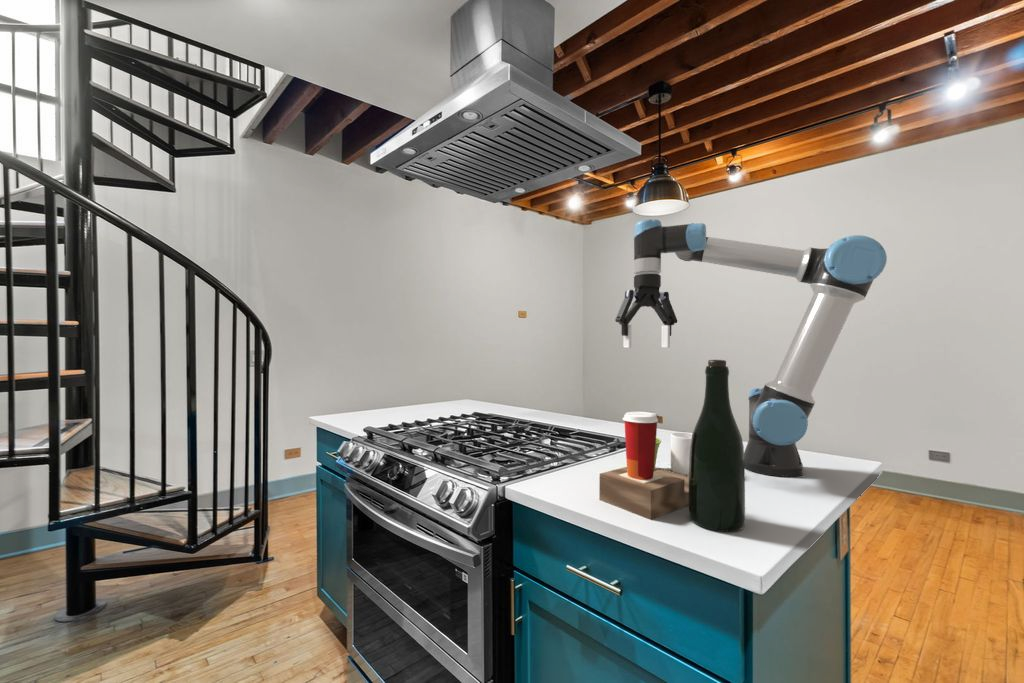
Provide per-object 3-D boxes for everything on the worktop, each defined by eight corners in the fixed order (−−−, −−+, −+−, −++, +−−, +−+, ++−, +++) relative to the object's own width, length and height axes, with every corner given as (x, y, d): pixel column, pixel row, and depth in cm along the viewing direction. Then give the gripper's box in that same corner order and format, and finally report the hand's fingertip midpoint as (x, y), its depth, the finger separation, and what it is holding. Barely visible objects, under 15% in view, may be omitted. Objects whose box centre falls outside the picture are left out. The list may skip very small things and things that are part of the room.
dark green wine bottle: (729, 512, 95) (730, 358, 95) (755, 533, 85) (757, 361, 84) (680, 511, 95) (681, 358, 95) (700, 533, 85) (701, 360, 85)
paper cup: (660, 473, 102) (660, 412, 102) (655, 483, 95) (656, 417, 95) (625, 469, 105) (626, 410, 105) (618, 478, 98) (619, 415, 98)
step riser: (662, 480, 117) (662, 456, 116) (713, 495, 105) (713, 469, 105) (599, 499, 102) (599, 472, 102) (650, 519, 91) (650, 489, 91)
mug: (714, 480, 117) (714, 441, 117) (683, 480, 116) (683, 441, 116) (694, 467, 129) (694, 432, 129) (666, 467, 128) (666, 432, 128)
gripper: (672, 278, 137) (671, 347, 137) (603, 273, 128) (603, 347, 128) (690, 275, 130) (689, 347, 130) (618, 270, 121) (618, 347, 121)
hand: (646, 347), depth 129 cm, fingers open, 13 cm apart
